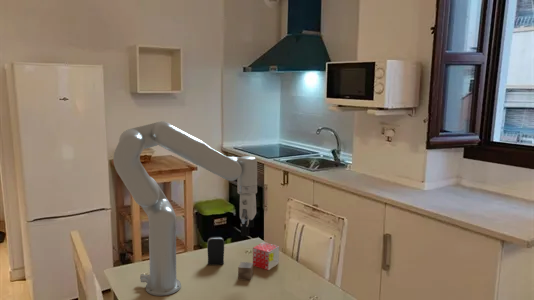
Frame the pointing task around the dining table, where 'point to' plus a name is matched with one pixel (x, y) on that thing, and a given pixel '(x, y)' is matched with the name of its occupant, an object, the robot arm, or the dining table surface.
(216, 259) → the battery charger
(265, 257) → the puzzle cube
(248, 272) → the walnut block
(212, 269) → the dining table surface
